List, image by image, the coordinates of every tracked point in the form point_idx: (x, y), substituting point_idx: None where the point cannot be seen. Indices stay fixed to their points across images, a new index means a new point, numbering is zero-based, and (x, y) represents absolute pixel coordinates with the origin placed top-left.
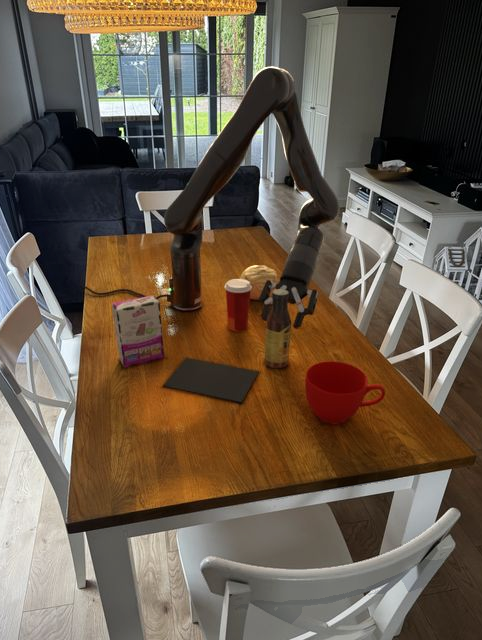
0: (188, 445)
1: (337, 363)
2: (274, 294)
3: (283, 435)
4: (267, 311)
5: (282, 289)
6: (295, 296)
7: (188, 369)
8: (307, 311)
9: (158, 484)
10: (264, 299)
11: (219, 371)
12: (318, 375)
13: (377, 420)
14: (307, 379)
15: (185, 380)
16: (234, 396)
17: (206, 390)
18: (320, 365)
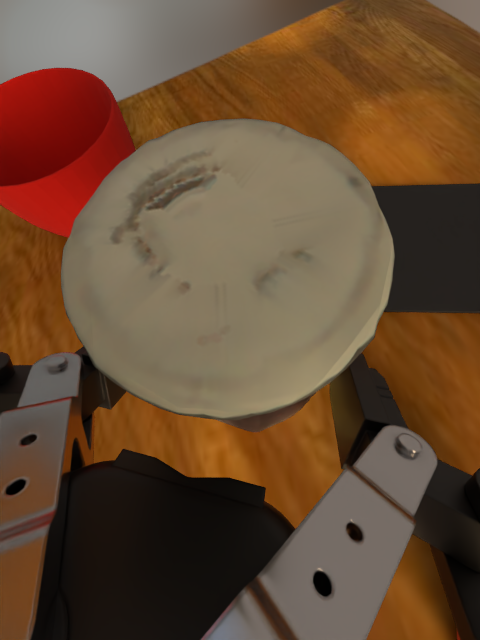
0: (328, 85)
1: (17, 188)
2: (307, 142)
3: None
4: (349, 398)
5: (203, 391)
6: (36, 479)
7: (473, 258)
8: (17, 370)
9: (330, 31)
10: (463, 505)
11: None
12: None
13: (23, 226)
14: (110, 92)
15: (447, 215)
16: None
17: (376, 198)
18: (74, 172)
